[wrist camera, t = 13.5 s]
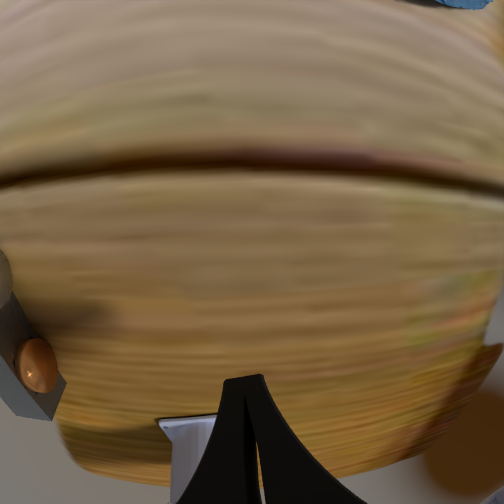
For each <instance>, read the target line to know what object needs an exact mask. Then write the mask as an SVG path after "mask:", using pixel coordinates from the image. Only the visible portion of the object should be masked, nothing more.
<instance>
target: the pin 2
mask: <svg viewBox="0 0 504 504" xmlns="http://www.w3.org/2000/svg"><path fill="white" fill-rule="evenodd" d="M13 364H14V366H15V368H16V372H17V375H18V378H19V380H20V381H21V383H22V384H23V386H24V387H25V388H26V389H28V390H29V391H32V392H39V393H48V392H50V391H51V390H52V389H53V388H54V387H55V385H56V382H57V378H58V366H57V360H56V357H55V354H54V352H53V350H52V348H51V347H50V345H49V344H48V343H47V342H46V341H44V340H42V339H39V338H36V339H25V340H23V341H22V342H21V343H20V344H19V345H18V347H17V350H16V353H15V360H14V361H13Z"/></svg>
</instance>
